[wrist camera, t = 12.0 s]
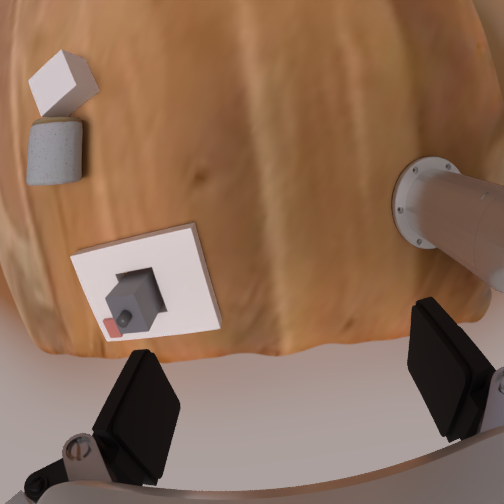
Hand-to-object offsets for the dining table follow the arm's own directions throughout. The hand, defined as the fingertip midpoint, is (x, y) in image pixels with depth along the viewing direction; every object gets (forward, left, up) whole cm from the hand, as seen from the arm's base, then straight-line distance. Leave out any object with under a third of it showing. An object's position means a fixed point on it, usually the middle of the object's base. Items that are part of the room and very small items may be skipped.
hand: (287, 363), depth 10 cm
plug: (+18, +8, -28) cm, 34 cm away
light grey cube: (+21, -21, -28) cm, 41 cm away
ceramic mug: (+25, -13, -28) cm, 40 cm away
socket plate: (+18, +8, -28) cm, 34 cm away
